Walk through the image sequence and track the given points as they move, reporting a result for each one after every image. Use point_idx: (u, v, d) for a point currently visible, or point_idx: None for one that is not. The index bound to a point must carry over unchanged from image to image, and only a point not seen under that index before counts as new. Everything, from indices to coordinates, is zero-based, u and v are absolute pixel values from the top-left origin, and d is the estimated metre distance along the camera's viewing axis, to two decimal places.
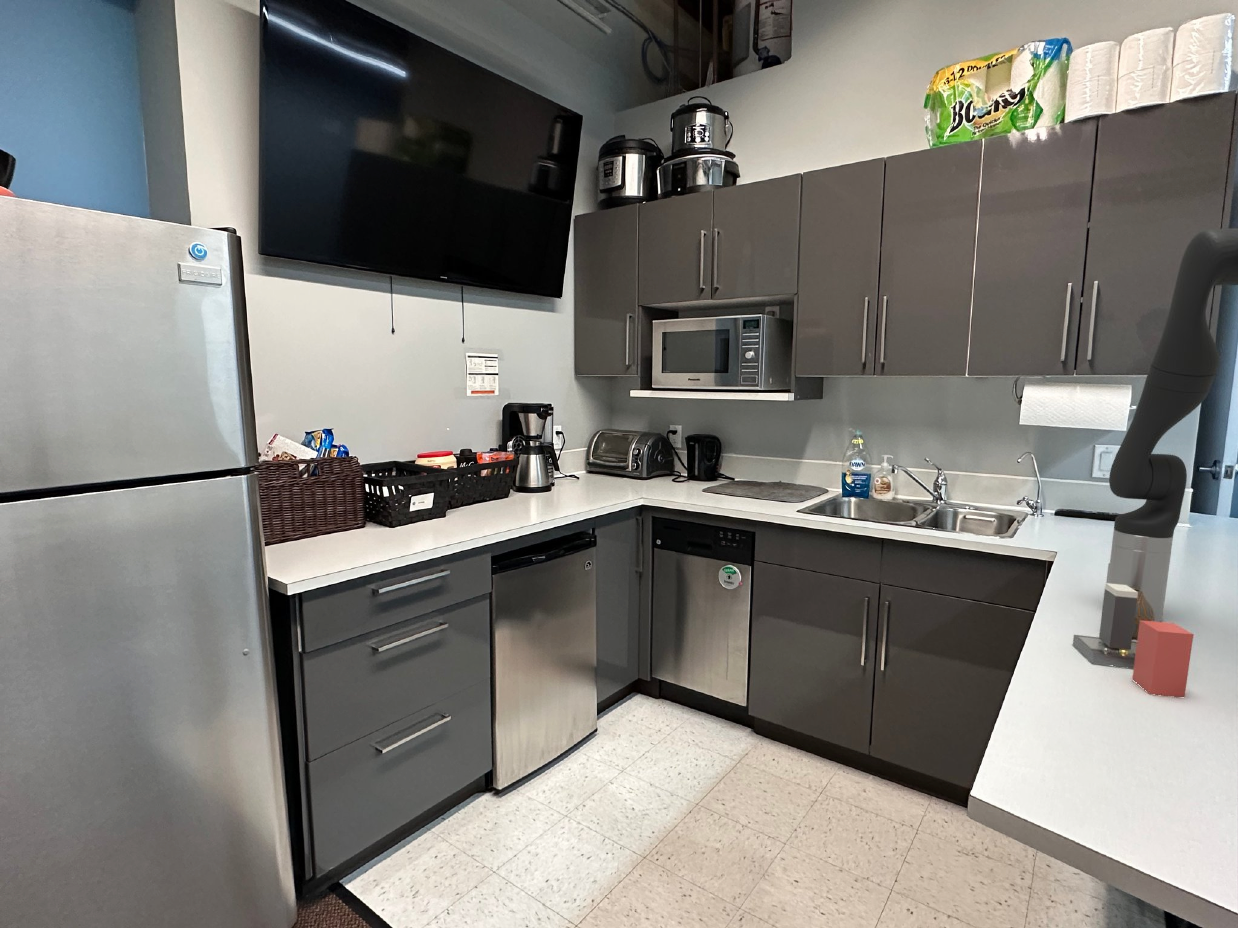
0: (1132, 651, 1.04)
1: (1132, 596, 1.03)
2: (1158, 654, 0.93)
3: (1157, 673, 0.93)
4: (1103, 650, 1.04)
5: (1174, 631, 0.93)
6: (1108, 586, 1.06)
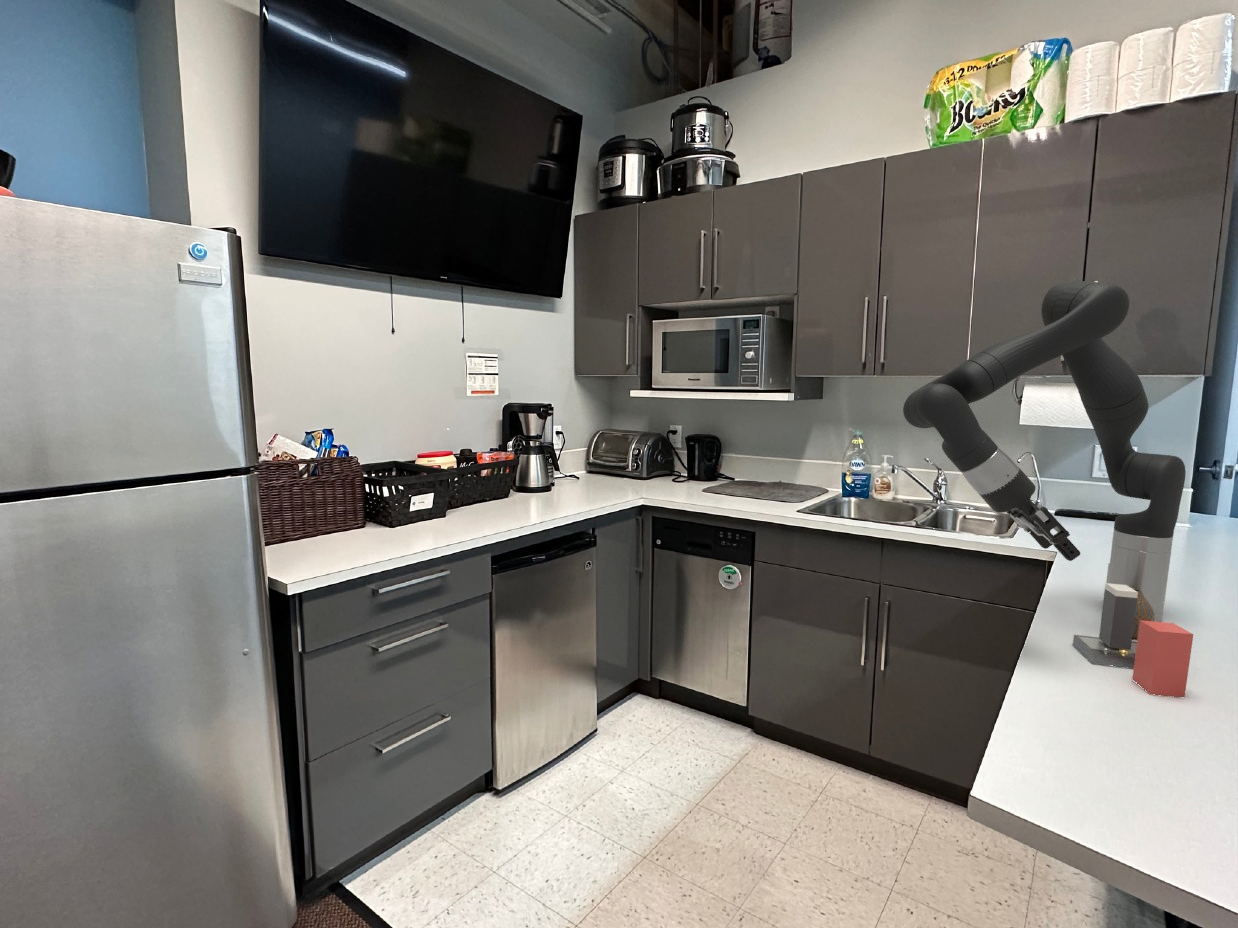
0: (1132, 651, 1.04)
1: (1132, 596, 1.03)
2: (1158, 654, 0.93)
3: (1157, 673, 0.93)
4: (1103, 650, 1.04)
5: (1174, 631, 0.93)
6: (1108, 586, 1.06)
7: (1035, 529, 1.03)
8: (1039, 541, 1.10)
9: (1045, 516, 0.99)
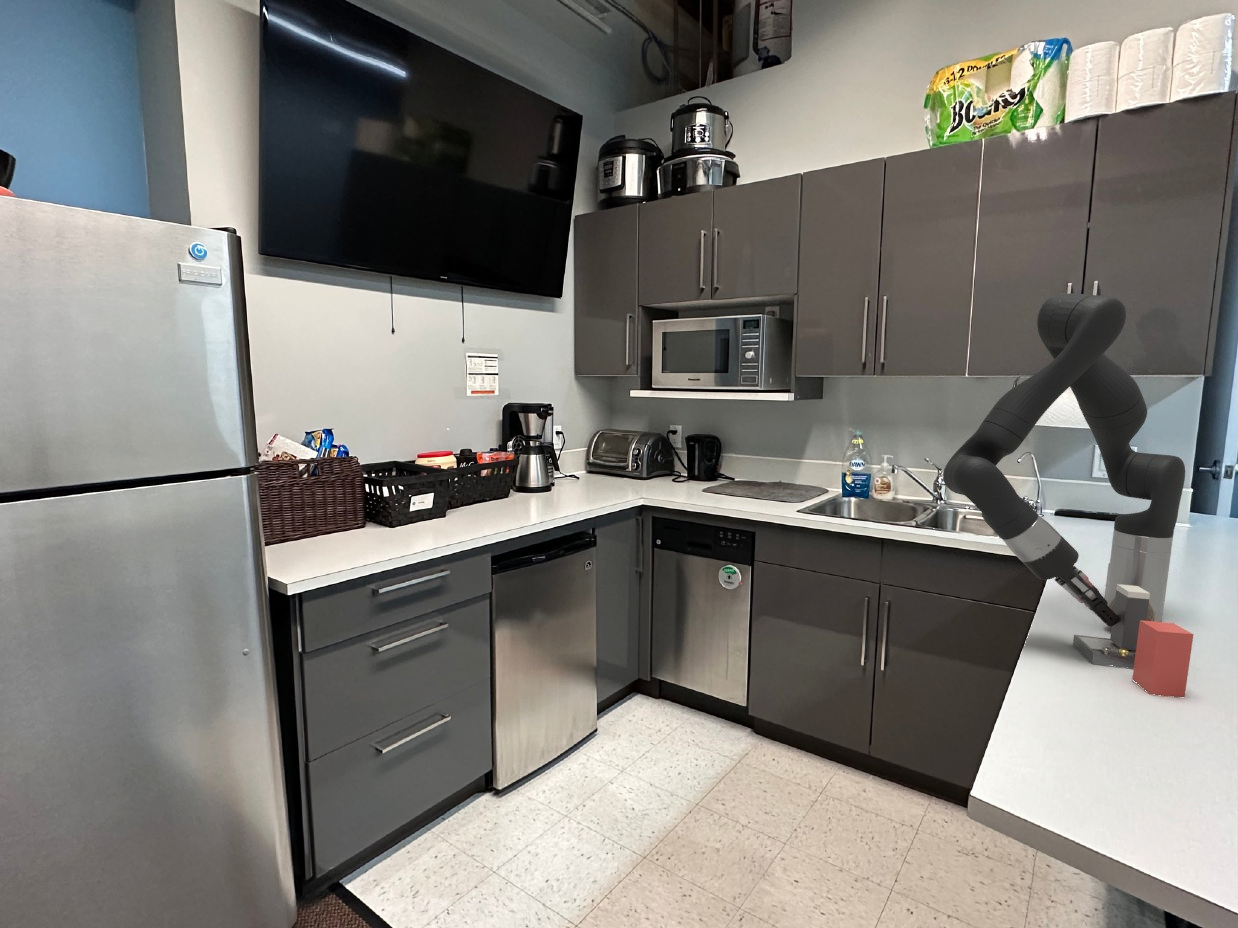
0: (1132, 651, 1.04)
1: (1144, 597, 1.02)
2: (1158, 654, 0.93)
3: (1157, 673, 0.93)
4: (1103, 650, 1.04)
5: (1174, 631, 0.93)
6: (1120, 587, 1.06)
7: (1078, 598, 1.06)
8: None
9: (1095, 596, 1.01)
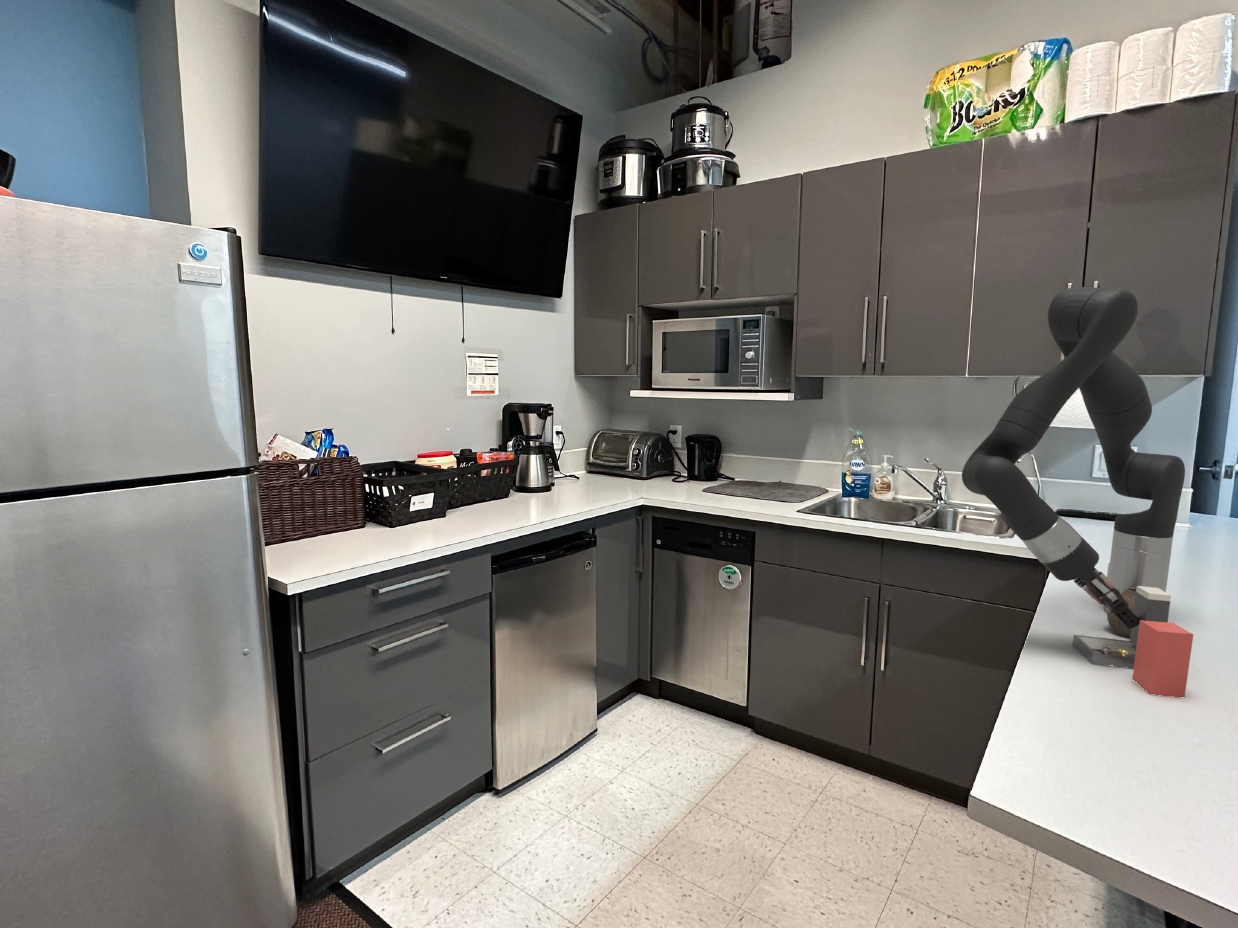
0: (1132, 651, 1.04)
1: (1165, 599, 1.02)
2: (1158, 654, 0.93)
3: (1157, 673, 0.93)
4: (1103, 650, 1.04)
5: (1174, 631, 0.93)
6: (1140, 589, 1.05)
7: (1099, 600, 1.05)
8: None
9: (1116, 598, 1.01)
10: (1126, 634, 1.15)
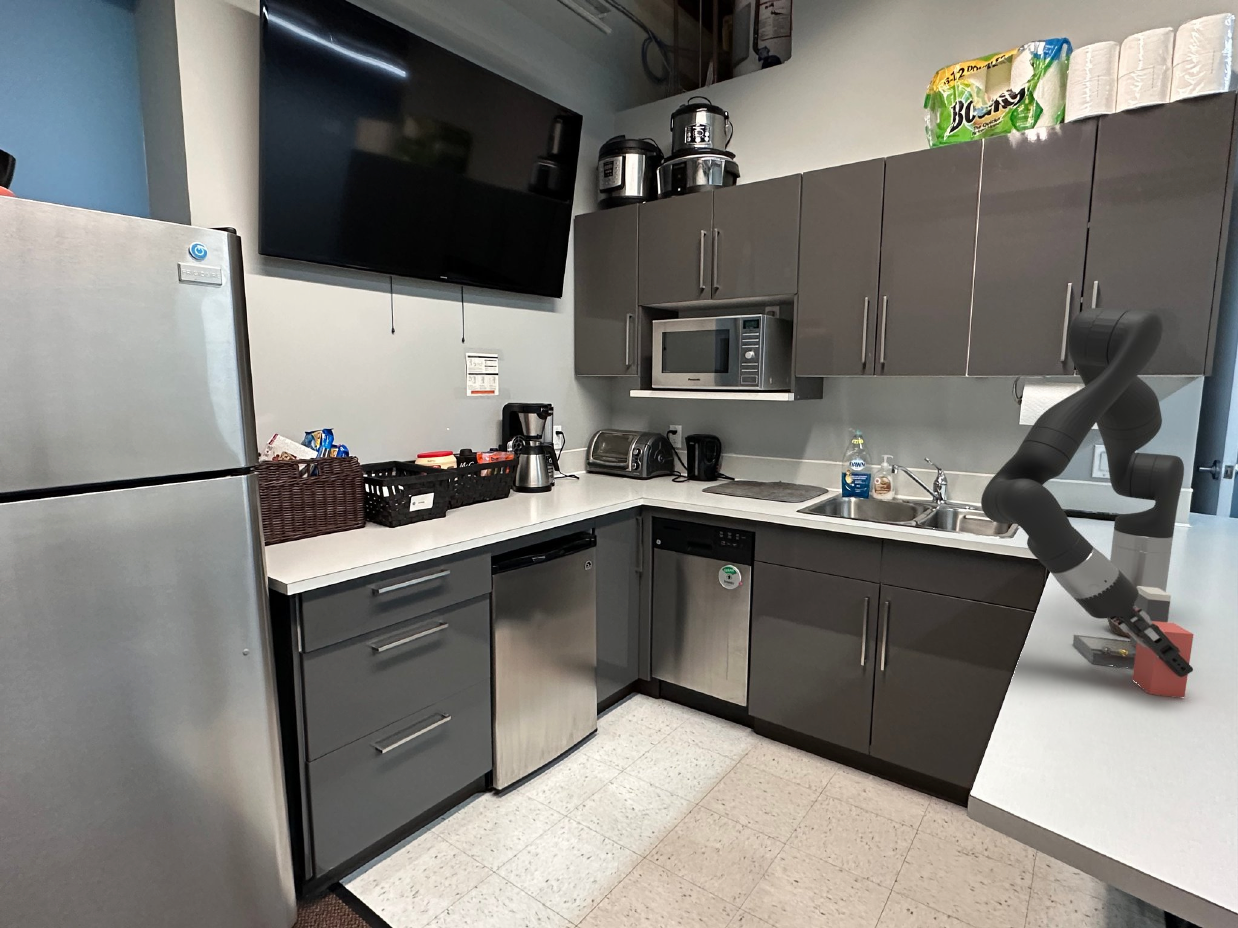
0: (1132, 651, 1.04)
1: (1165, 599, 1.02)
2: None
3: (1157, 673, 0.93)
4: (1103, 650, 1.04)
5: (1174, 630, 0.93)
6: (1140, 589, 1.05)
7: (1140, 641, 0.93)
8: None
9: (1156, 635, 0.89)
10: (1126, 634, 1.15)
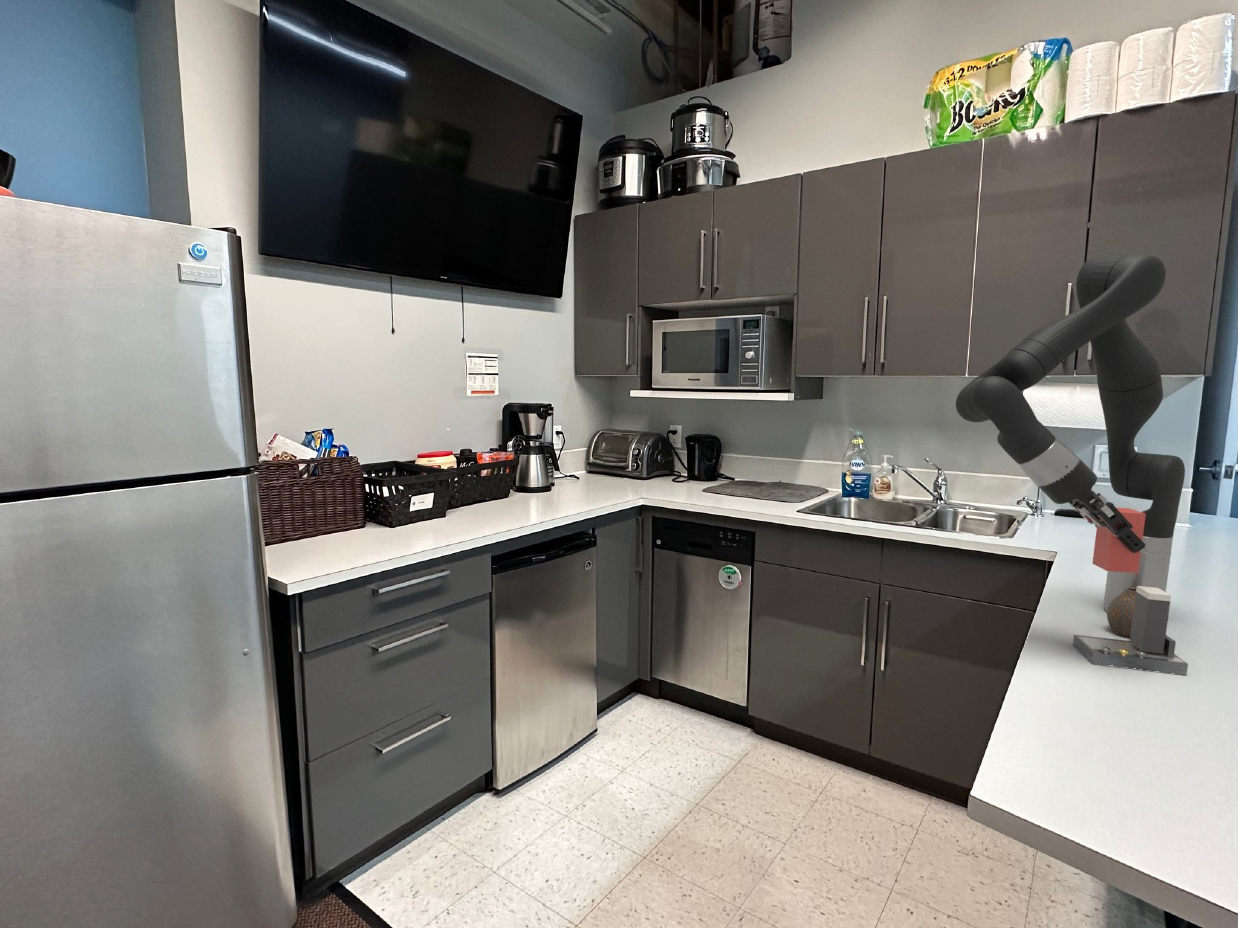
0: (1132, 651, 1.04)
1: (1165, 599, 1.02)
2: None
3: (1113, 551, 1.03)
4: (1103, 650, 1.04)
5: (1129, 512, 1.02)
6: (1140, 589, 1.05)
7: (1098, 522, 1.02)
8: None
9: (1111, 512, 0.98)
10: (1126, 634, 1.15)
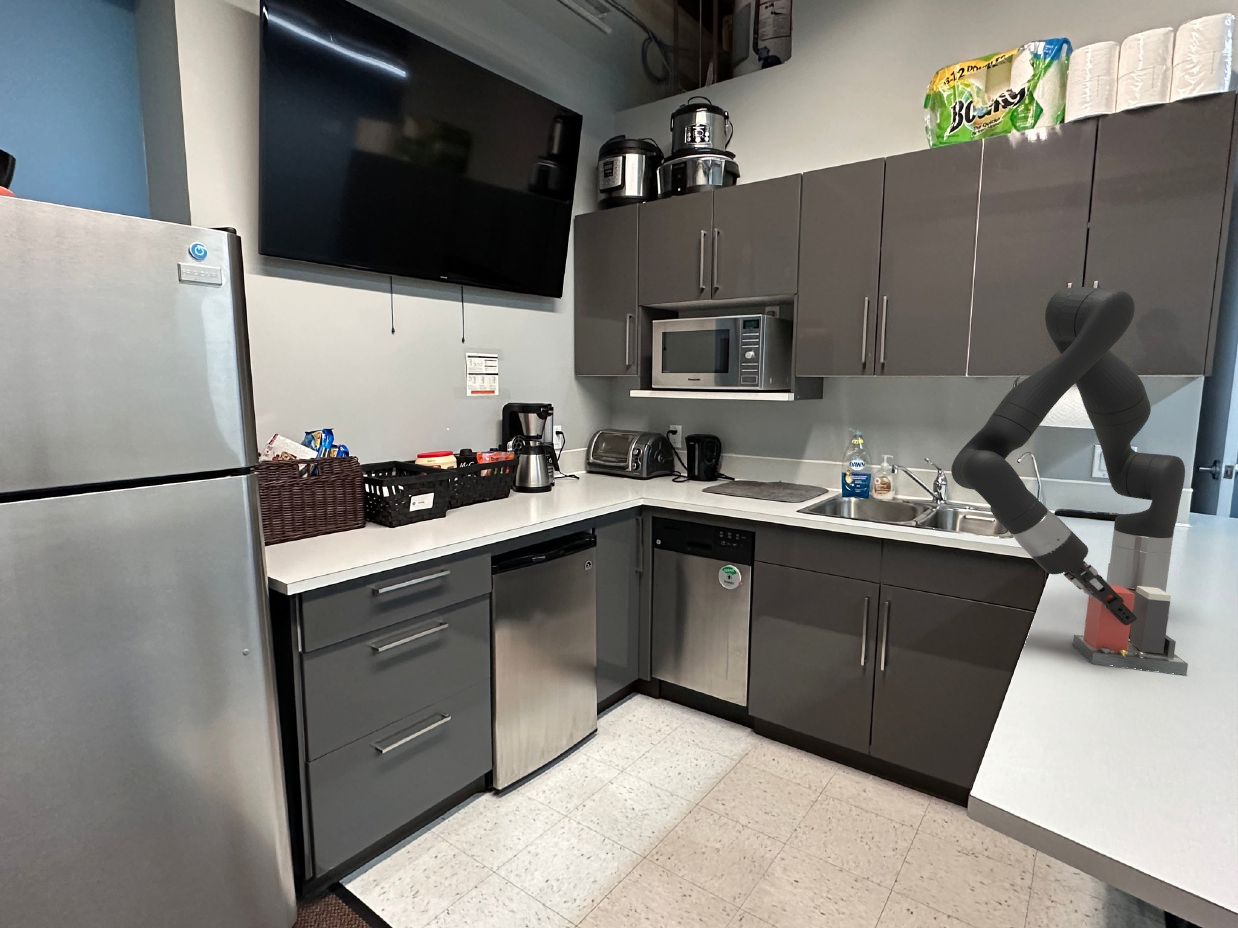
0: (1132, 651, 1.04)
1: (1165, 599, 1.02)
2: (1103, 612, 1.04)
3: (1102, 629, 1.04)
4: (1103, 650, 1.04)
5: (1118, 591, 1.04)
6: (1140, 589, 1.05)
7: (1089, 593, 1.04)
8: None
9: (1100, 584, 1.00)
10: None
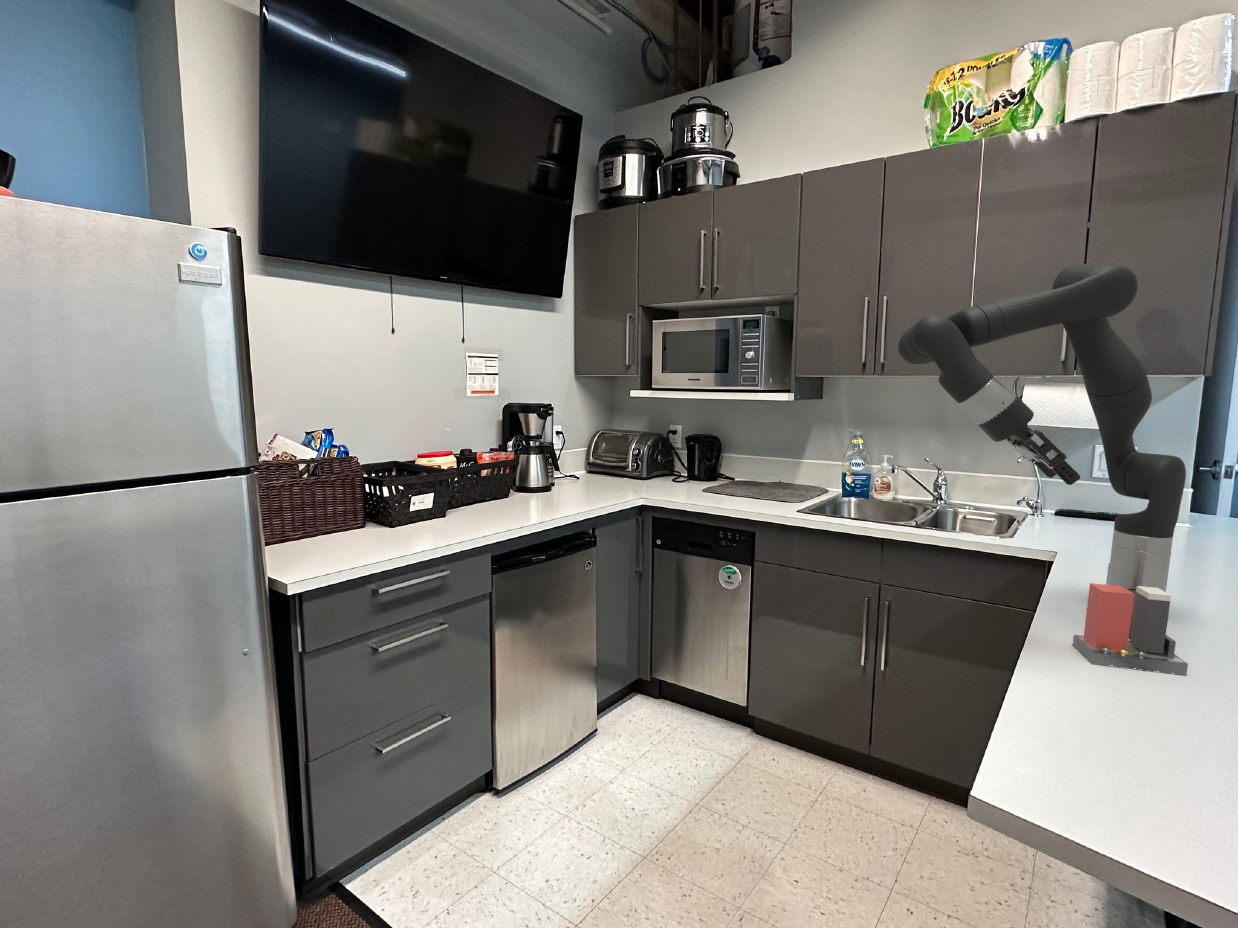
0: (1132, 651, 1.04)
1: (1165, 599, 1.02)
2: (1103, 612, 1.04)
3: (1102, 629, 1.04)
4: (1103, 650, 1.04)
5: (1117, 591, 1.04)
6: (1140, 589, 1.05)
7: (1033, 455, 1.03)
8: (1044, 470, 1.10)
9: (1040, 440, 1.00)
10: None
